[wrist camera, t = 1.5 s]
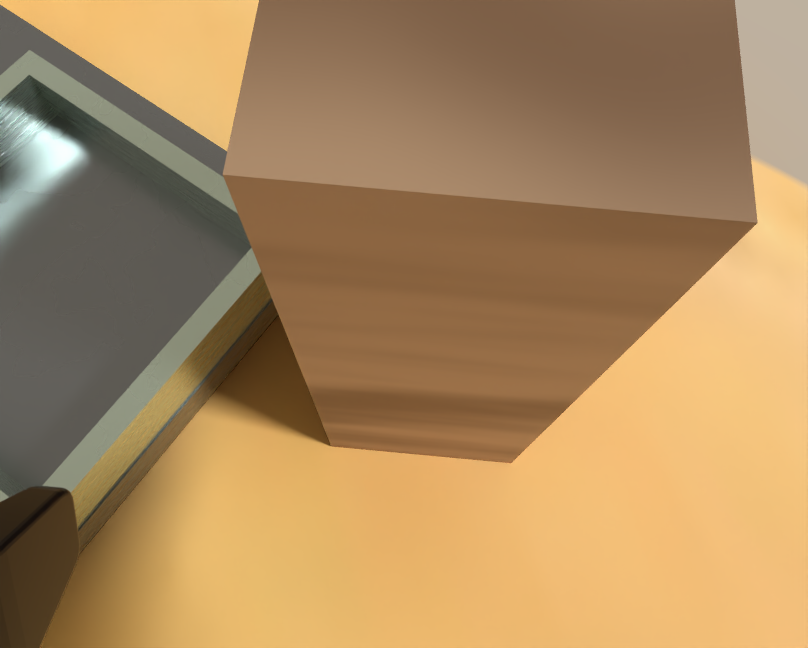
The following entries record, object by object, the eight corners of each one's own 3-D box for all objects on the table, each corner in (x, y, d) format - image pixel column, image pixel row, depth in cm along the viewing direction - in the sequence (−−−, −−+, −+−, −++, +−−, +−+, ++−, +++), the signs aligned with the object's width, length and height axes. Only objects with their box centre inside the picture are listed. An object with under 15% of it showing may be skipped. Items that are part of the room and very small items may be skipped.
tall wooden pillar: (511, 463, 21) (757, 223, 7) (331, 446, 21) (222, 174, 7) (516, 296, 23) (719, -150, 9) (351, 281, 23) (298, -186, 9)
